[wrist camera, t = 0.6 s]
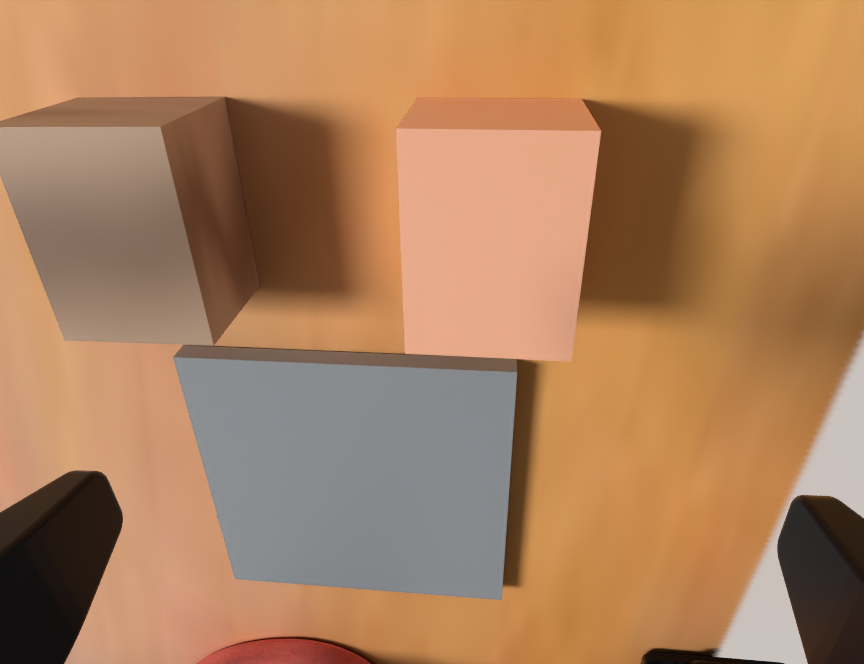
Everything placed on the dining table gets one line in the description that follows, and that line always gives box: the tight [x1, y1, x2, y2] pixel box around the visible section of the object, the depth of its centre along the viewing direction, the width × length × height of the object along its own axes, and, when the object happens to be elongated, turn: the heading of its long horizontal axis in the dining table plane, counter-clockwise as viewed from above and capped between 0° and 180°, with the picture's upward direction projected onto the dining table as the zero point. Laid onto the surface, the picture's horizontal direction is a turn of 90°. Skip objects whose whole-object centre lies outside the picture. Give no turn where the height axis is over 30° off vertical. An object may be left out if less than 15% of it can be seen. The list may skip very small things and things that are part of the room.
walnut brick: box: [0, 97, 260, 346], centre depth 18 cm, size 6×4×4 cm
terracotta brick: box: [396, 98, 601, 361], centre depth 17 cm, size 6×4×4 cm
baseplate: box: [173, 345, 517, 600], centre depth 24 cm, size 12×12×1 cm
